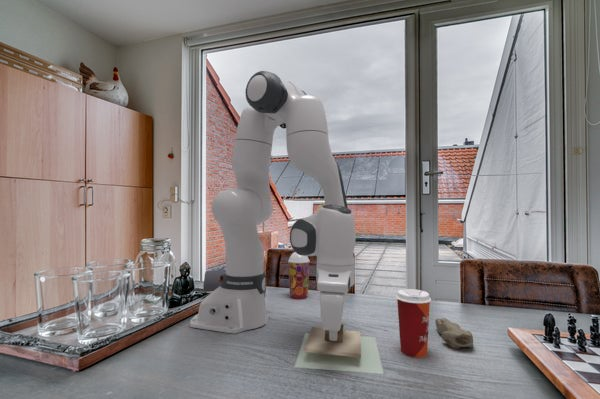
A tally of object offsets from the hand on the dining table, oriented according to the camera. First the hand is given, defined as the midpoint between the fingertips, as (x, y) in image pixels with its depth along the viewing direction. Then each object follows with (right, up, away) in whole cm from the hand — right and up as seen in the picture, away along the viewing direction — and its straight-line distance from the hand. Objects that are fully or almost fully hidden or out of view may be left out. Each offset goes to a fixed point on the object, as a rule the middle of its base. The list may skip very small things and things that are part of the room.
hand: (334, 335), depth 72 cm
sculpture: (+31, -5, +8) cm, 32 cm away
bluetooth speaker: (-32, -6, +48) cm, 58 cm away
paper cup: (+18, -4, 0) cm, 19 cm away
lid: (0, -2, 0) cm, 2 cm away
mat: (+1, -4, 0) cm, 4 cm away
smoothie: (-8, -6, +46) cm, 47 cm away
